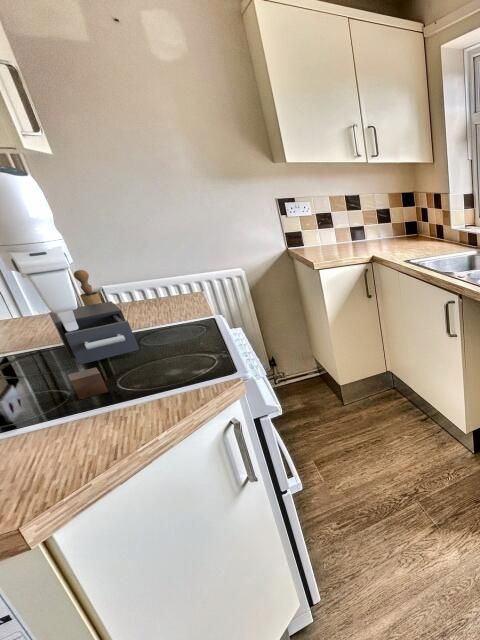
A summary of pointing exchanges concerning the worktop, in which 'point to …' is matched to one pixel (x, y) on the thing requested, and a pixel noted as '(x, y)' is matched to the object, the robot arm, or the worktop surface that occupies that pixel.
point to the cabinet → (86, 318)
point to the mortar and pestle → (87, 289)
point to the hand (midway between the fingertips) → (69, 325)
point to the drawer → (101, 339)
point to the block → (87, 383)
